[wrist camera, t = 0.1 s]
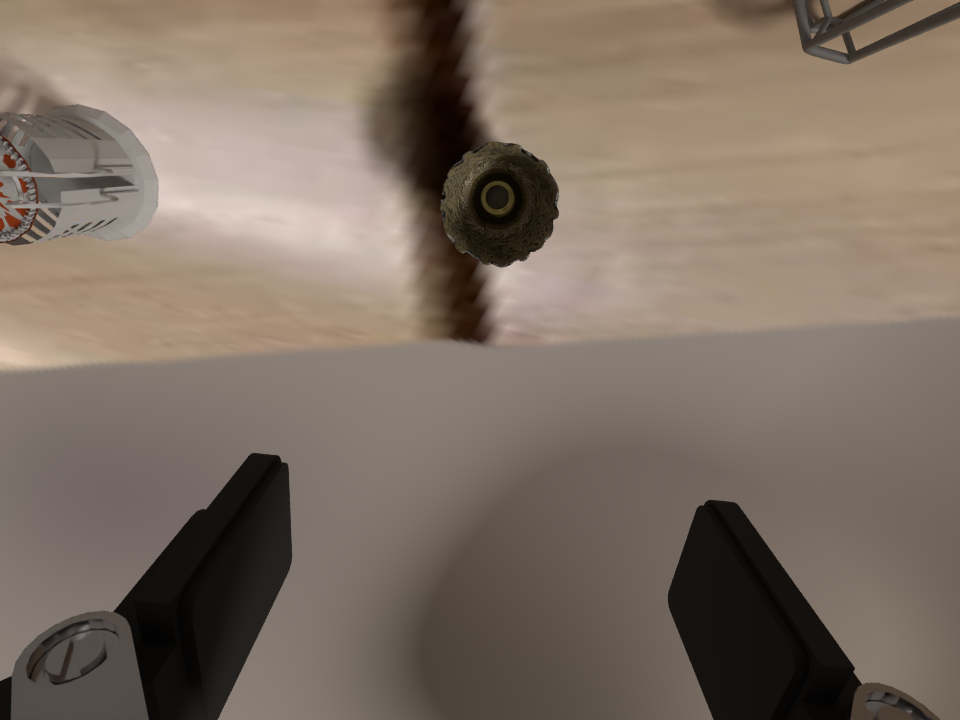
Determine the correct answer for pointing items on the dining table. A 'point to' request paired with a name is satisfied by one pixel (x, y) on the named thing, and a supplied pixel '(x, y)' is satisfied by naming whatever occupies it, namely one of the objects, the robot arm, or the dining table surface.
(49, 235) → the french press
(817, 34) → the geometric lantern
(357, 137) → the dining table surface
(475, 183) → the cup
